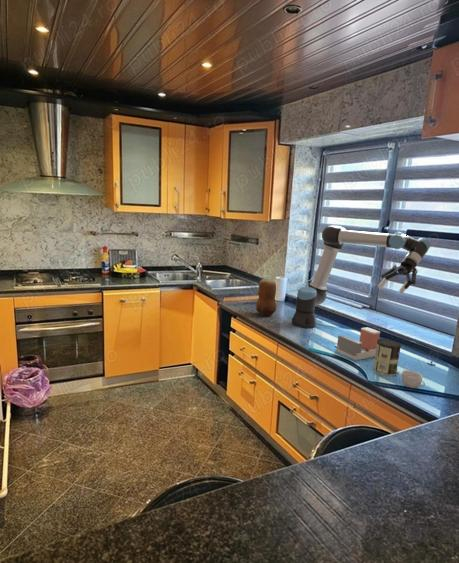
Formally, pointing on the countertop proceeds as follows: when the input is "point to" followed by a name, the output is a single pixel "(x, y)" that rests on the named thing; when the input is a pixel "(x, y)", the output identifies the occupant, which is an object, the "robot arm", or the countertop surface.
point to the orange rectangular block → (369, 338)
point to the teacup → (412, 379)
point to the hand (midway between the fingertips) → (389, 290)
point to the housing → (353, 348)
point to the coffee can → (386, 357)
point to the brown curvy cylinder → (266, 297)
